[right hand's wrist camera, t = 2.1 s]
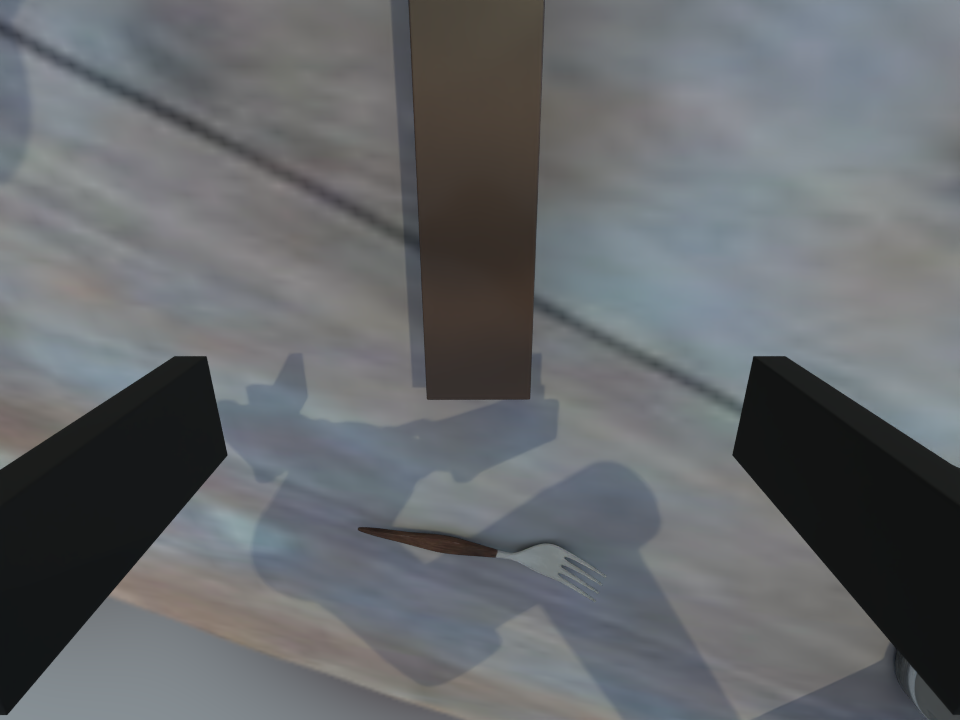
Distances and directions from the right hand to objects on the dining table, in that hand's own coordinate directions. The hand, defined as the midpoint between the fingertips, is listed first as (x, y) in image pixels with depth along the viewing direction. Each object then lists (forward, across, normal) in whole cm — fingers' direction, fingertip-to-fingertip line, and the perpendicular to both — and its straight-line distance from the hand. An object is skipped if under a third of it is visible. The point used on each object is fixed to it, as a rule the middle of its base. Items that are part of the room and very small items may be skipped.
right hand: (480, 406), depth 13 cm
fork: (+16, 0, +18) cm, 24 cm away
